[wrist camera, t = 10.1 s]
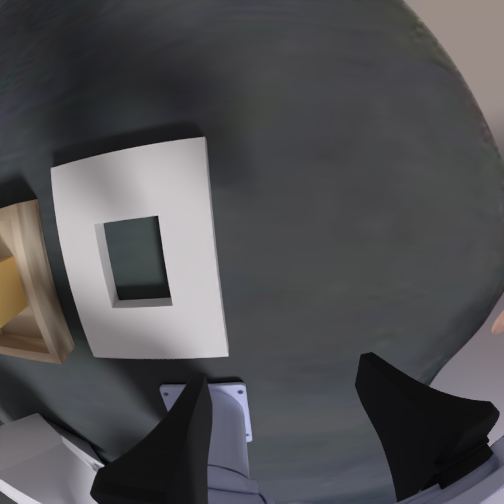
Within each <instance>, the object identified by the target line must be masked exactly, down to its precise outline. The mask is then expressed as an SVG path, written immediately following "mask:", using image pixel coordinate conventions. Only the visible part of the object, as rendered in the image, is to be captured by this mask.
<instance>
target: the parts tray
mask: <svg viewBox="0 0 504 504" xmlns="http://www.w3.org/2000/svg"><path fill="white" fill-rule="evenodd" d="M9 256H14V257H15V262H16V266H17V270H18V274H19V278H20V281H21V285H22V288H23V292H24V295H25V298H26V301H27V304H28V306H27V307H26V308H25V309H24V310H22V311H21V312H20V313H19V314H17V315H16V316H15V317H14V318H12V319H11V320H10V321H9V322H8V323H6V324H5V325H4V326H3V327H2V328H0V353H1V354H5V355H10V356H15V357H20V358H26V359H31V360H37V361H44V362H51V363H58V364H62V363H63V362H64V361H65V359H66V358H67V357H68V355H69V354H70V353H71V351H72V350H73V349H74V348H75V344H74V342H73V339H72V337H71V334H70V331H69V329H68V326H67V323H66V320H65V317H64V314H63V311H62V308H61V305H60V302H59V298H58V295H57V292H56V288H55V285H54V281H53V277H52V273H51V269H50V265H49V261H48V256H47V252H46V247H45V242H44V236H43V231H42V225H41V218H40V212H39V204H38V199H36V200H31V201H26V202H21V203H17V204H13V205H10V206H7V207H4V208H1V209H0V258H2V257H9Z"/></svg>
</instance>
